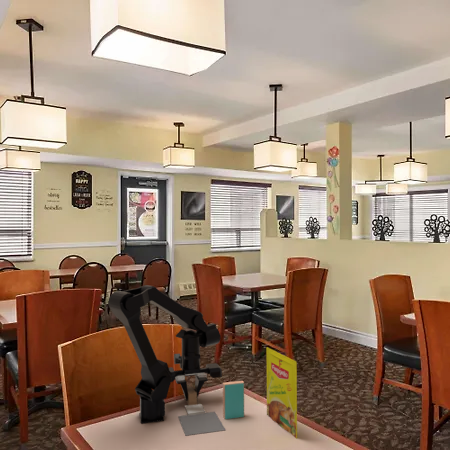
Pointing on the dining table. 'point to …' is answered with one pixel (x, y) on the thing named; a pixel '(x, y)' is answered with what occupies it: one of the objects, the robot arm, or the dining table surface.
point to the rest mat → (201, 423)
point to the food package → (282, 390)
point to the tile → (233, 399)
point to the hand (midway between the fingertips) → (191, 400)
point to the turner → (193, 402)
